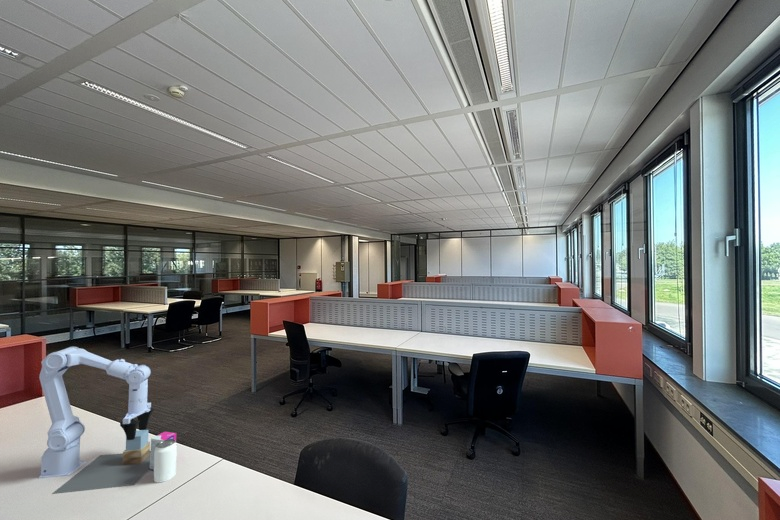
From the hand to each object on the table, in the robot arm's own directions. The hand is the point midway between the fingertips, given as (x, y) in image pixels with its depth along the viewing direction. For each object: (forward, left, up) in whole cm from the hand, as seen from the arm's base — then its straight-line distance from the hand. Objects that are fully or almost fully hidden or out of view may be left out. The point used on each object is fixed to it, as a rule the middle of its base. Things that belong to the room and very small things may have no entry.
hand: (137, 434), depth 122 cm
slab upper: (0, 0, -7) cm, 7 cm away
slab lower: (0, 0, -10) cm, 10 cm away
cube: (0, 0, -5) cm, 5 cm away
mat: (-4, -5, -10) cm, 12 cm away
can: (+16, -13, -10) cm, 23 cm away
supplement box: (+12, -6, -10) cm, 17 cm away
